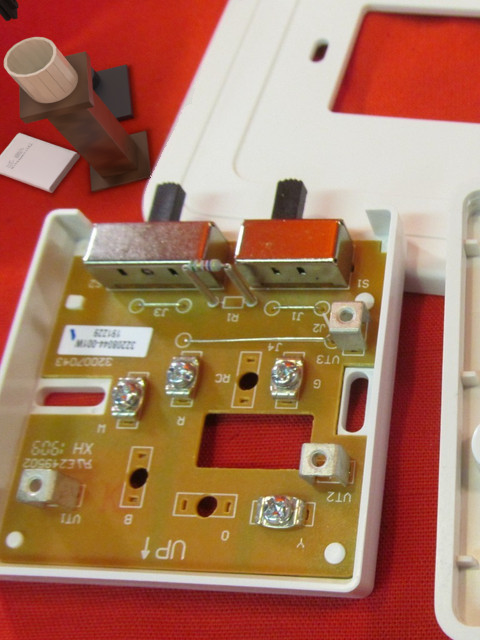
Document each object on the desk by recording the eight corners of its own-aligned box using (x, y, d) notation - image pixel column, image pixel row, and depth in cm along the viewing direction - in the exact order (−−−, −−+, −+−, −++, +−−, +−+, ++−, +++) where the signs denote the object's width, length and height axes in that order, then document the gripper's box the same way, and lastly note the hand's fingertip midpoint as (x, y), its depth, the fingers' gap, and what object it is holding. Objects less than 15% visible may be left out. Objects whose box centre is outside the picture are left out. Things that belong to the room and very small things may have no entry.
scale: (73, 135, 119) (62, 123, 117) (70, 81, 124) (59, 68, 121) (135, 119, 120) (126, 107, 117) (130, 66, 125) (121, 53, 122)
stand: (94, 194, 115) (19, 118, 98) (91, 148, 118) (18, 67, 101) (153, 179, 115) (89, 100, 98) (148, 134, 119) (85, 51, 102)
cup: (28, 108, 98) (3, 82, 94) (28, 71, 101) (3, 44, 96) (79, 96, 99) (56, 69, 94) (77, 59, 101) (55, 31, 97)
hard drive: (54, 195, 115) (-4, 173, 117) (82, 158, 118) (24, 137, 120) (48, 189, 113) (-12, 167, 116) (76, 151, 116) (18, 131, 118)
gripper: (-32, -149, 85) (61, -16, 102) (-155, -122, 84) (-40, 8, 101) (-31, -111, 82) (64, 19, 99) (-159, -82, 81) (-40, 44, 98)
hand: (11, 13), depth 100 cm, fingers closed
